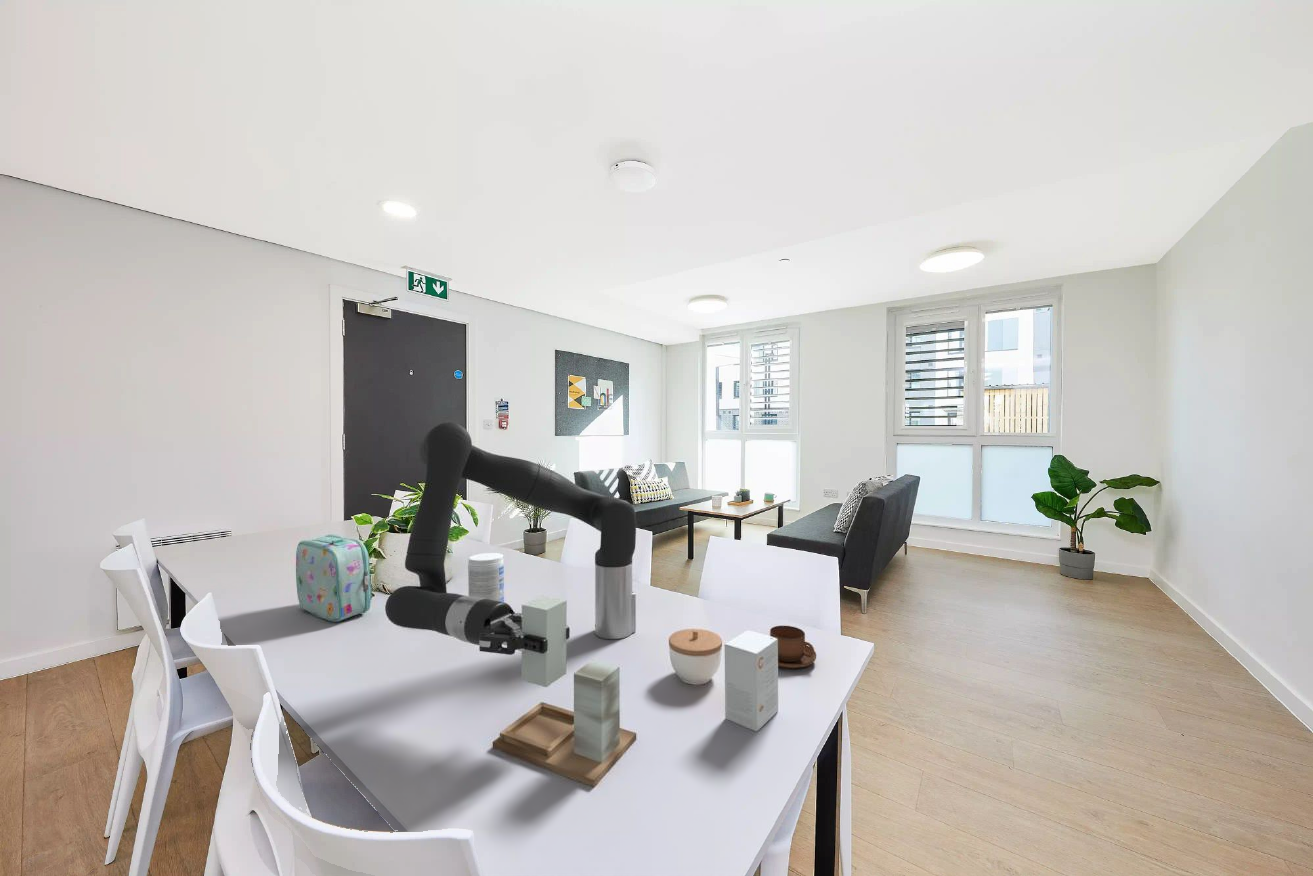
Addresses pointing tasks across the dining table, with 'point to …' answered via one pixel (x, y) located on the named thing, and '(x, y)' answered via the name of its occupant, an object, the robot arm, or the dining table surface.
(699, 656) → the lidded jar
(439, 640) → the dining table surface
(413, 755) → the dining table surface
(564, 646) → the sage block
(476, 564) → the supplement tub
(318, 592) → the lunch box
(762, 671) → the small box
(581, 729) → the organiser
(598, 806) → the dining table surface
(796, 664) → the cup and saucer
